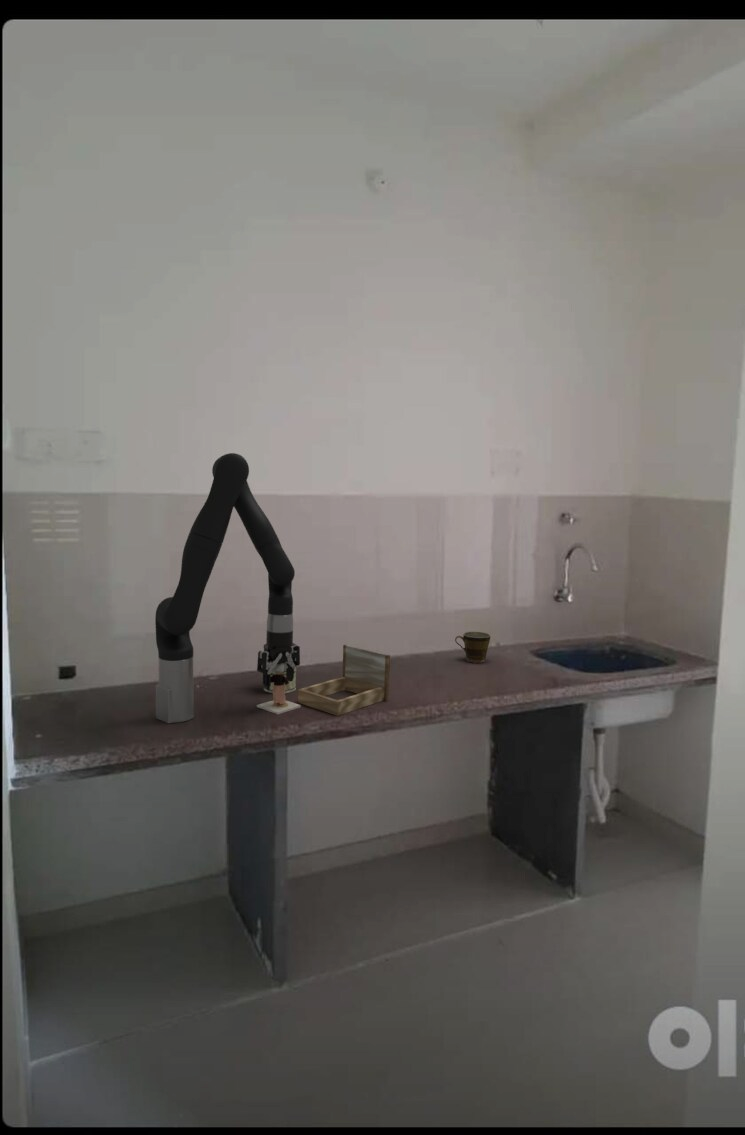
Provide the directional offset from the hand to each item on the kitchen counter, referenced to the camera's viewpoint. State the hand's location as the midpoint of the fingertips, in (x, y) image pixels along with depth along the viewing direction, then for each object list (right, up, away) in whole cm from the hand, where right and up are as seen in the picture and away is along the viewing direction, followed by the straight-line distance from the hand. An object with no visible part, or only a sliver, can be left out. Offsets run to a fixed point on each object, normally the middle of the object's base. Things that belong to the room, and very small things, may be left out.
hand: (278, 683), depth 213 cm
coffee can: (-2, -5, +19) cm, 20 cm away
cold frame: (+18, -7, +8) cm, 21 cm away
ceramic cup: (+64, -1, +59) cm, 87 cm away
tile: (0, -7, +1) cm, 7 cm away
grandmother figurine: (0, -7, +1) cm, 7 cm away
